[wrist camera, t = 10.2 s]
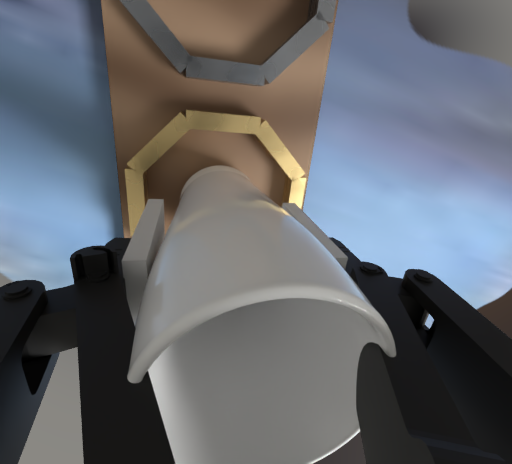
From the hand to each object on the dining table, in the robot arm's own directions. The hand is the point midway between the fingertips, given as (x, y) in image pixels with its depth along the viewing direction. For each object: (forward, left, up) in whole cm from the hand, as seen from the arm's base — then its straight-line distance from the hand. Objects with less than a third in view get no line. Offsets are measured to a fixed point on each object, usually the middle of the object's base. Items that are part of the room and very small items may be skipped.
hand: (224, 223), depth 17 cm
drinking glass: (0, 0, -4) cm, 4 cm away
